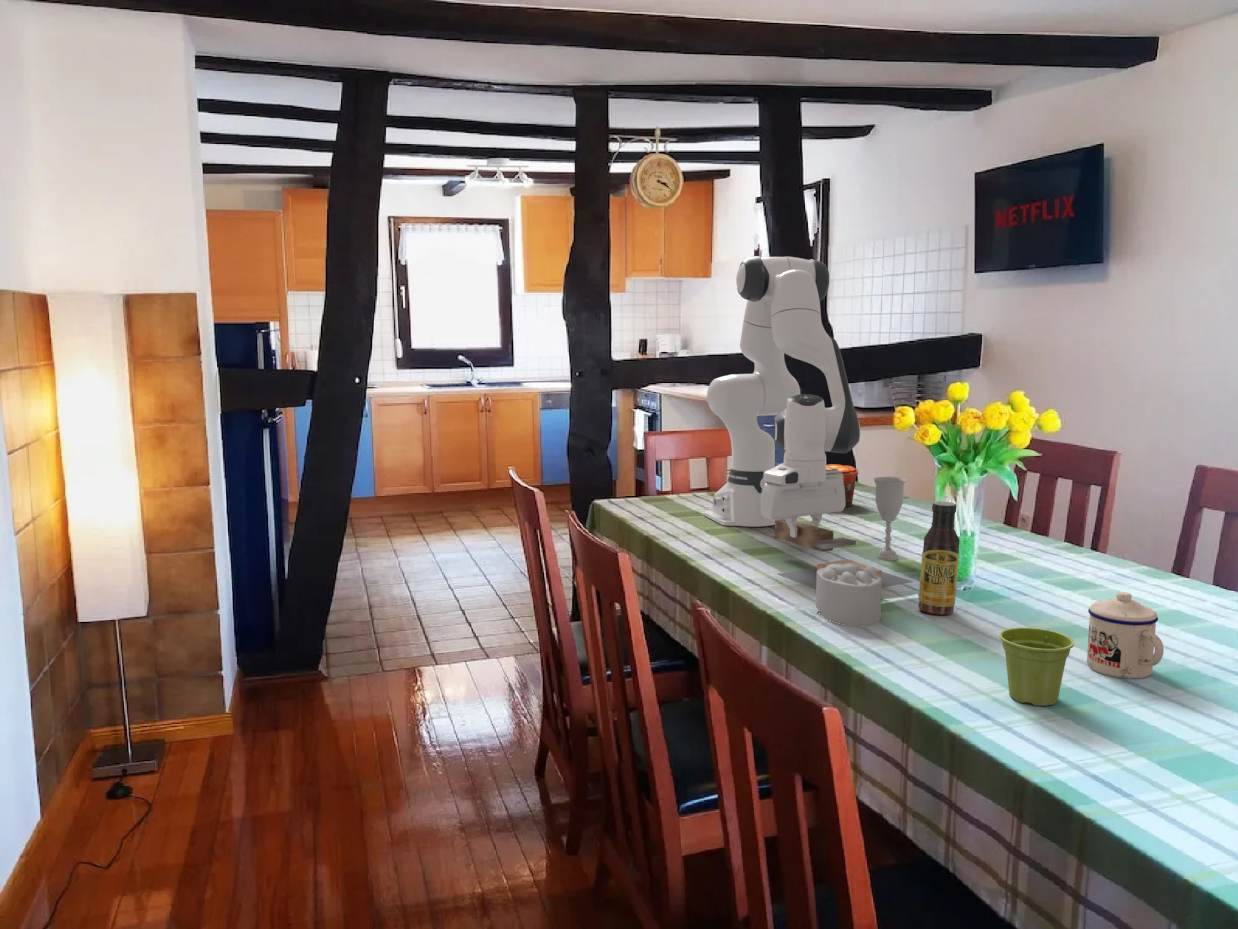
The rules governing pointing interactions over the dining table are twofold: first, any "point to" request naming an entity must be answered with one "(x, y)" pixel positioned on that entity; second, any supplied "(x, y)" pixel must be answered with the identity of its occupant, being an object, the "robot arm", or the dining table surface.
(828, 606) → the lumpy-topped squat cylinder
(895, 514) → the chalice
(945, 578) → the sauce bottle
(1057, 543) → the dining table surface
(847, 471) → the food container
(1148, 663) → the teacup with lid
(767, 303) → the robot arm
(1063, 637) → the plant pot
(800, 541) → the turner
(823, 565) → the tile
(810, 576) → the mat
